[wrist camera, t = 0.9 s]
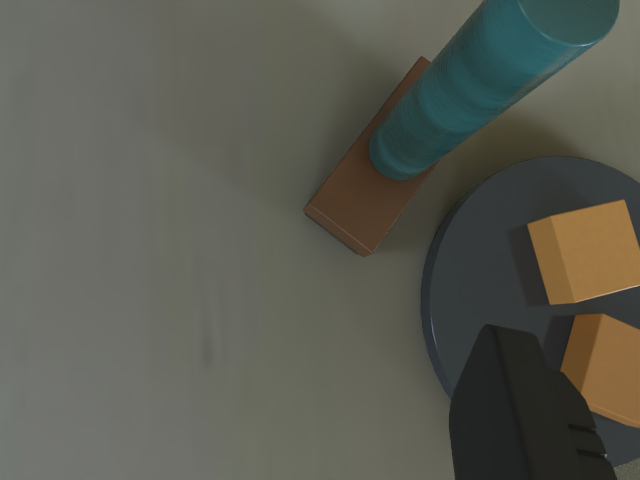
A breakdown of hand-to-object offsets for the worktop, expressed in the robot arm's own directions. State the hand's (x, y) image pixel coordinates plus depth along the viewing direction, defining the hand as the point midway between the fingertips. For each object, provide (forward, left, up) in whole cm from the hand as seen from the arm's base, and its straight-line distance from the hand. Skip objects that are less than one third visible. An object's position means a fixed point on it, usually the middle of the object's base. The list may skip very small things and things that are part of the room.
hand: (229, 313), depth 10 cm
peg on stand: (-9, +7, -17) cm, 20 cm away
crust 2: (0, +18, -16) cm, 24 cm away
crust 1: (-5, +17, -16) cm, 23 cm away
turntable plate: (-3, +17, -17) cm, 24 cm away
